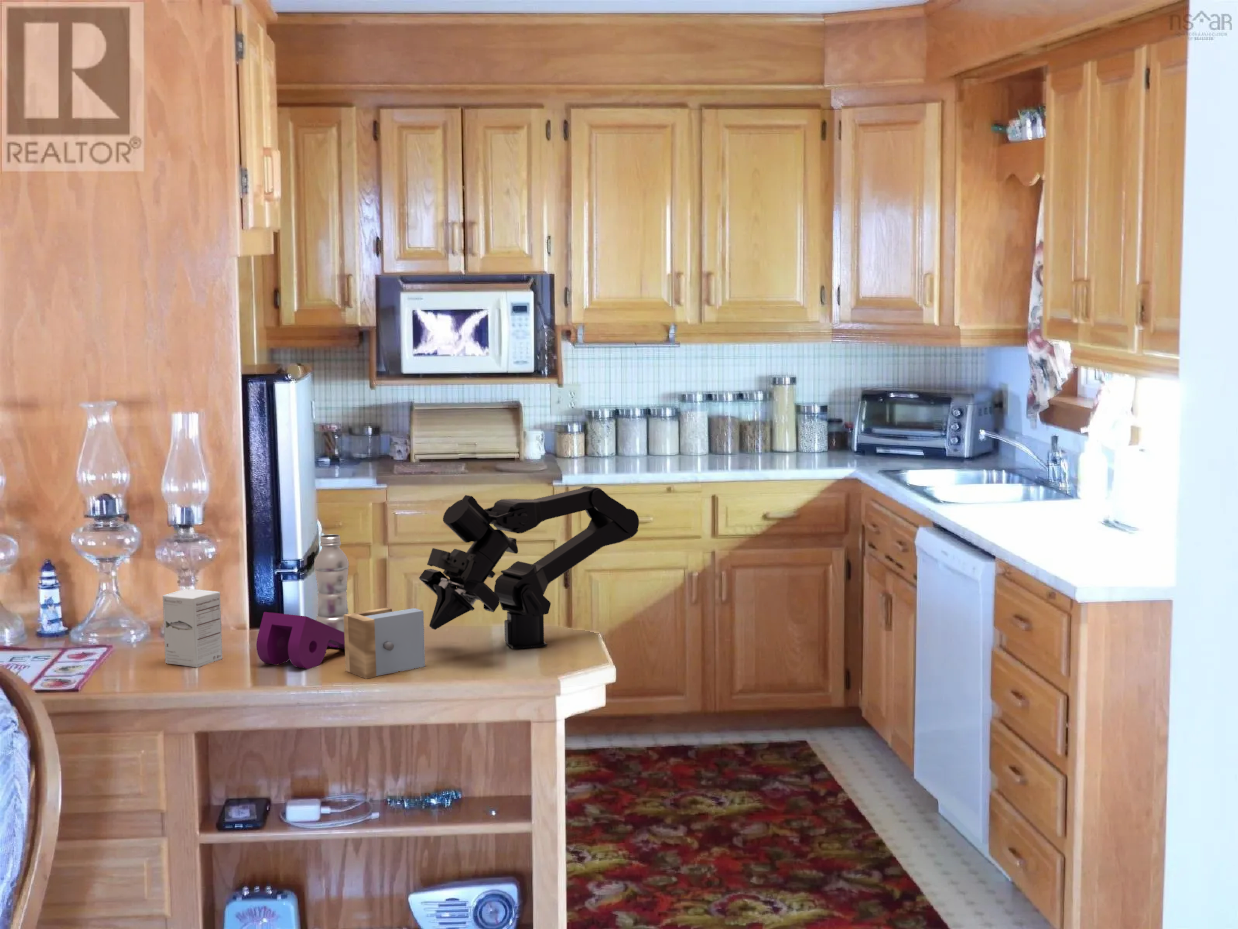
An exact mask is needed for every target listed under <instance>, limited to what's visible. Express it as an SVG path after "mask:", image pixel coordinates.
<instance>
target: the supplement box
mask: <svg viewBox="0 0 1238 929" xmlns="http://www.w3.org/2000/svg"><path fill="white" fill-rule="evenodd" d="M221 609H222V608H221V591H214V590H208V589H207V590H205V589H197V588H186V589H185V588H184V589H181V590H177V591H174V592H170V593H167V594H163V595H162V610H163V614H162V615H163V636H164V657H165V658H164V661H165V664H166V663H167V664H168V665H169V664H172V665H179V666H186V667H193V668H199V667H200V668H201V667H202V666H206V665H208V664H212V663H215V662H217V661H218V662H219V661H221V660H223V639H222V638H223V637H222V636H223V635H222V611H221ZM214 661H215V662H214ZM167 664H166V665H167Z"/></svg>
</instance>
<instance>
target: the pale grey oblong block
mask: <svg viewBox="0 0 1238 929" xmlns="http://www.w3.org/2000/svg"><path fill="white" fill-rule="evenodd" d="M424 614H425V613H424V610H422V609H419V608H415V607H414V608H407V609H402V610H394V611H392V612H388V613H382V614H376V615H369V616H365V617H368V618H371V619H374V622H375V652H376V677H377V676H378V677H379V676H382V675H389V674H393V673H399V672H398V671H400V672H403V671H404V672H405V671H409V670H414V668H415V669H419V667H420V668H424V667H426V658H425V657H426V656H425V655H426V654H425V651H426V650H425V625H424V624H425V622H424V621H425V620H424Z"/></svg>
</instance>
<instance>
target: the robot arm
mask: <svg viewBox="0 0 1238 929" xmlns="http://www.w3.org/2000/svg"><path fill="white" fill-rule="evenodd" d="M583 511H585V512H586V515H587V516H588V517H589V519H590V520H589V523H588V525H587V527H586V528H585V529H583V530H582V531H580V532H579V533H577V534H576V535H574V536H573V537H572V538H570V539H569V540H567V541H565V542H564V543H562V544H561V545H559V546H558V547H556V548H555V549H553V550H551V551H550V552H549V553H548V554H546V555H544V556H543V557H541V558H540V559H538V560H537V561H536V562H534V563H528V562H524V561H519V560H517V561H516V562H513V564H511V565H510V566H509V567H508V568H507V569H503V570H502V569H501V571H500V573H501V574H500V575H499V576H498V577H497V578H496V580H495V582H494V587H493V590H492V588H491V587H490V586H488V585H487V583H485V581H486V580H487V579H488V578H491V579H494V577H495V575H496V572H495V571H493V570H494V568H495V567H496V566H497V565H498V563H499V562H500V561H501V559H502V557H503V556H504V554H506V552H507V553H510V554H519V549H518V545H517V538H516V537H510V536H509V537H508V536H507V535H506V534H505V532H508V533H514V534H523V533H525V532H528V531H530V530H532V529H534V528H536V527H538V526H539V525H540V524H541V523H542V522H544V521H547V520H551V519H555V518H558V517H563V516H566V515H572V514H575V513H579V512H583ZM442 521H443V523H444V524H445V525H446V526H447V527H448V528H449V529H450V530H451V531H452V532H453V533H454V534H455V535H457V536H458V538H460V540H461V541H463V542H464V543H468V544H469V543H471V542H472V544H471V545H470V546H469V548H468V550H467V551H463V550H461V549H457V548H454V549H453V550H452V551H451V552H450V551H446V550H442V549H438V548H435V547H432V548H431V551H430V554H429V557H428V560H427V562H426V565H427V566H429V567H435V568H438V569H441V570H443V572H442V571H441V570H437V569H433V568H428V569H424V570H423V572H422V573H421V574H420V576H419V577H418V579H419V580H420V581H421V582H422V583H423V584H424V585H426V587H427V588H428V589H430V590H431V592H432V593H434V594H435V595H436V598H437V599H436V602H435V606H434V610H433V612H432V616H431V618H430V622H429V627H430V629H432V630H437V629H440V628H441V627H442V626H444V625H446V624H448V623H450V622H451V621H453V620H455V619H457V618H459V617H461V616H462V615H464V614H467V613H468V612H470V611H471V612H472V611H473V612H474V610H475V606H474V604H475V603H476V601H480V602H481V603H482V604H483V609H484V610H485V611H487V612H491V613H495V611H496V610H497V608H498V607H499V605H500V607H501V609H502V611H506V619H505V620H504V621H503V623H504V627H503V628H504V643H506V644H507V645H508V646H509V647H510V648H511V649H513V650H519V649H530V648H542V647H547V646H548V643H547V642H546V641H545V627H544V623H545V622H544V620H545V619H544V617H545V616H544V615H549V612H550V608H551V604H552V603H551V601H549V599H548V598H546V597H545V595H544V594H545V593H546V592H547V591H546V589H548V586H549V584H550V583H553V581H555V580H556V579H557V578H559V577H561V576H562V575H564V574H565V573H566V572H568V571H569V570H571V569H572V568H575V566H577V565H579V564H580V563H581V562H582V561H585V560H586V559H587V558H589V557H590V556H591V555H593V554H594V553H596V552H598V551H599V550H600V549H602V548H604V547H607V546H611V545H616V544H620V543H623V542H624V541H627V540H629V539H631V538H633V537H635V535H637V533H638V532H639V526H640V518H639V516H638V514H637V512H636V510H633V509H632V508H627V507H626V506H625V505H623V503H621V502H619V501H617V500H615V499H614V498H613V497H611V496H610V495H608V494H607V493H606V492H605V491H604V490H602V488H600V487H593V486H588V485H586V486H585V485H584V486H582V487H580V488H576V489H573V490H572V489H571V490H567V491H564V492H559V493H555V494H551V495H547V496H543V497H542V496H541V497H538V498H534V499H532V498H531V499H530V498H529V499H526V498H525V499H523V498H503V499H502V498H501V499H500V500H496V501H495V502H494V504H493V506H491V507H488V508H485V509H484V508H483V507H482V506H481V505H480V504H479V502H478V500H476V499H475V498H474V496H473V495H467V494H465V495H464V496H463V497H462V499H460V500H457V501H456V502H454V503H453V504H451V505H450V506H448V508H447V509H446V510H445V512H444V513H443V517H442ZM491 525H493V526H491Z"/></svg>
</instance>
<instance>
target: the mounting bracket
mask: <svg viewBox="0 0 1238 929" xmlns="http://www.w3.org/2000/svg"><path fill="white" fill-rule="evenodd" d="M259 625H260V626H259V630H258V634H257V638H256V646H255V647H256V653H257V656H258V658H259V659H260V661H261V662H262V663H264V664H268V665H274V664H275V665H276V666H278V665H277V664H279V665H281V663H282V664H284V663H283V662H285V663H286V661H287V662H289V661H290V663H291V664H292V665H293V666H294V667H296V668H298V667H299V669H308V670H309V669H312V667H313V668H315V667H319V665H320V664H321V663H322V662H323V660H324V658H325V656H326V653H327V649H328V648H333V649H342V650H345V637H344V632H342V631H340V630H337V629H335V628H333V627H330V626H328V625H326V624H323V623H321V622H318V621H316V619H314V618H311V617H309V616H306V615H296V614H289V613H280V612H279V613H278V612H270V611H269V612H267V611H264V612H263V615H262V617H261V622H260V624H259ZM275 665H274V666H275Z"/></svg>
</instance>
